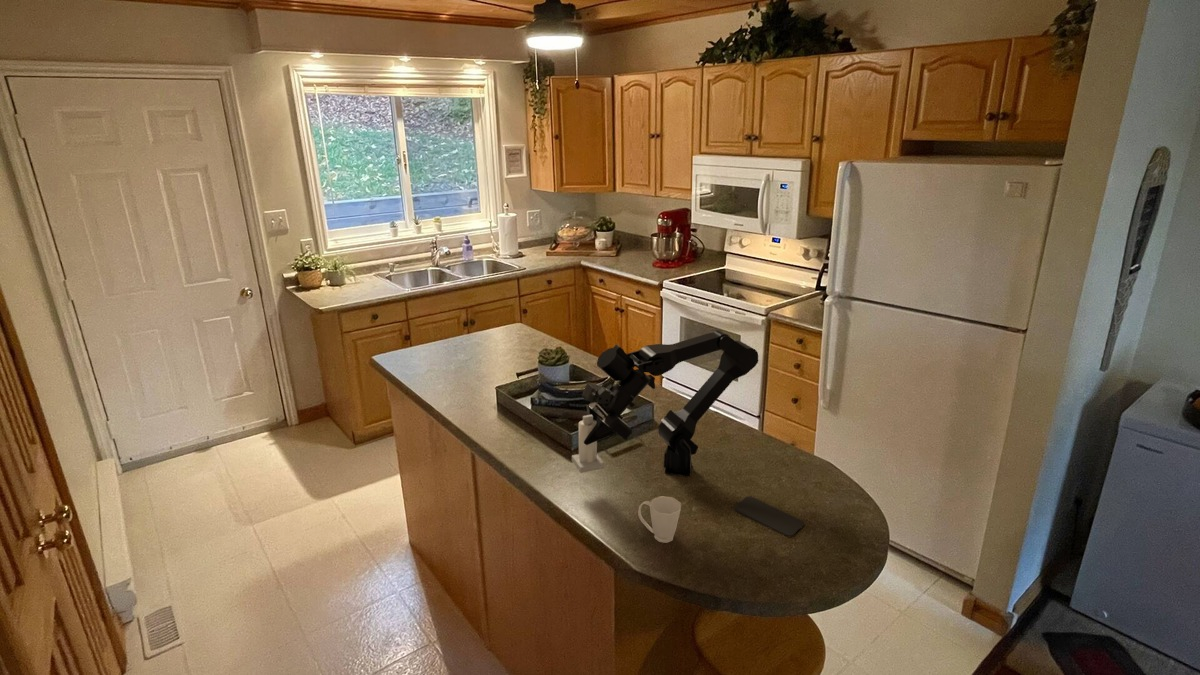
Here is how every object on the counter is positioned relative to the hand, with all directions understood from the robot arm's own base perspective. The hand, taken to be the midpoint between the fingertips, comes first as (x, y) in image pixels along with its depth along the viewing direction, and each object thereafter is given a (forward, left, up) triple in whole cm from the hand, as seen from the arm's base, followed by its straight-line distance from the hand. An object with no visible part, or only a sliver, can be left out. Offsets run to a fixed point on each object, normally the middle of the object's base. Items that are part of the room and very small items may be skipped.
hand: (582, 440), depth 149 cm
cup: (-20, +13, -14) cm, 28 cm away
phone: (-44, +1, -14) cm, 46 cm away
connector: (-1, -1, -7) cm, 7 cm away
